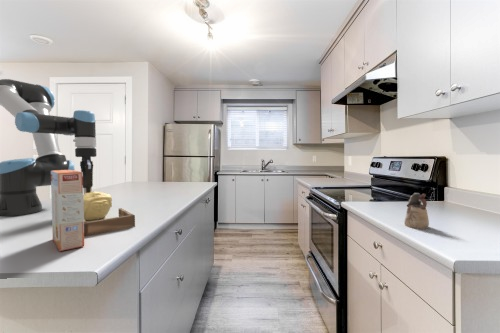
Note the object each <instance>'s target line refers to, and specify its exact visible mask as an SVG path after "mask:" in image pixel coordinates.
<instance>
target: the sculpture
mask: <svg viewBox="0 0 500 333" xmlns="http://www.w3.org/2000/svg"><path fill="white" fill-rule="evenodd" d="M112 202H113V198H112V196H111V194H110V193H105V192H101V191H100V190H98V191H93V190H92V192H90V193H85V195H84V194H83V212H84V220H85V221H96V220H102V219H105V217H106V216H107V215H108V213H109V211H110V210H111V208H112V206H113V205H112V204H113V203H112Z"/></svg>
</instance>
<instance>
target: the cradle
mask: <svg viewBox="0 0 500 333" xmlns="http://www.w3.org/2000/svg"><path fill="white" fill-rule="evenodd" d="M134 227H136V216H135V214H133V213H131V212H129V211H127V210H126V209H124V208H121V207H120V208H118V216H115V217H109V218H101V219H96V220H89V221H87V220H84V237H87V236H93V235H98V234H104V233H107V232H109V233H110V232H113V231H119V230H123V229H130V228H134Z"/></svg>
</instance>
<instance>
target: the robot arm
mask: <svg viewBox="0 0 500 333" xmlns="http://www.w3.org/2000/svg"><path fill="white" fill-rule="evenodd" d="M55 102H56V101H55V96H54V93H53V91H52V90H51V89H50V88H49V87H47V86H43V85H40V84H35V83H34V84H33V83H29V82H24V81H20V80H15V79H11V78H3V79H0V106H1V107H3V108H4V109H5V110H6V111H7V112H8V113H9V114H10V115H12V117H14V125H15V126H16V129H17V130H18V131H19V132H22V133H29V134H30V133H31V134H32V137H33V141H34V144H35V148H36V152H37V158H34V157H33V158H32V157H27V158H16V159H9V160H3V161H1V162H0V217H15V216H17V217H18V216H25V215H30V214H34V213H39V212H41V211H42V210H43V205H42V204H43V203H42V202H41V200H40V198H39V196H38V194H37V188H38V187H47V186H48V187H49V186H51V171H54V170H75V169H76V168H75V164H74V161H71V160H70V159H69V160H68V159H67V157H66V155H65V154H63V153H62V152H61V150H60V146H59V143H58V138H57V135H64V136H74V139H73V141H72V142H74V147H76V148H75V149H74V153H75V158H81V161H80V162H79V166H80V172H83V195H85V193H90V192H93V190H92V189H93V186H94V184H93V180H94V176H93V174H94V162H93V161H94V160H92V158H95V157H97V149H96V147H97V137H96V136H97V135H96V131H97V130H96V116H95V113H94V111H91V110H90V111H89V110H84V109H83V110H82V109H81V110H80V109H79V110H75V111H73V116H72V117H69V116H60V115H52V114H50V112H51V111H52V109H53V108H54V106H55ZM75 171H76V170H75Z"/></svg>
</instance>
